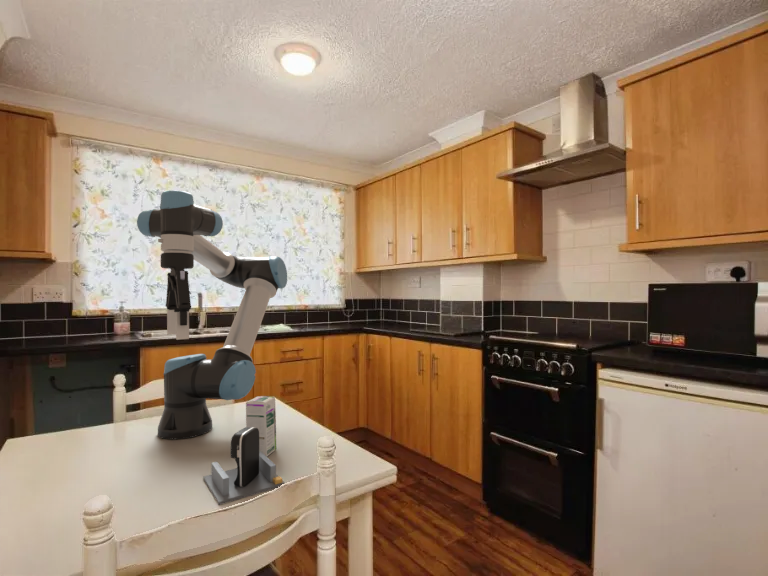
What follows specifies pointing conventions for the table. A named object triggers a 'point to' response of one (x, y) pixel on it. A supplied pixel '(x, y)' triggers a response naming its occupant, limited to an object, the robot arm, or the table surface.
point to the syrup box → (263, 421)
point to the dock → (227, 491)
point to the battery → (246, 454)
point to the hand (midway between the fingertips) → (177, 336)
